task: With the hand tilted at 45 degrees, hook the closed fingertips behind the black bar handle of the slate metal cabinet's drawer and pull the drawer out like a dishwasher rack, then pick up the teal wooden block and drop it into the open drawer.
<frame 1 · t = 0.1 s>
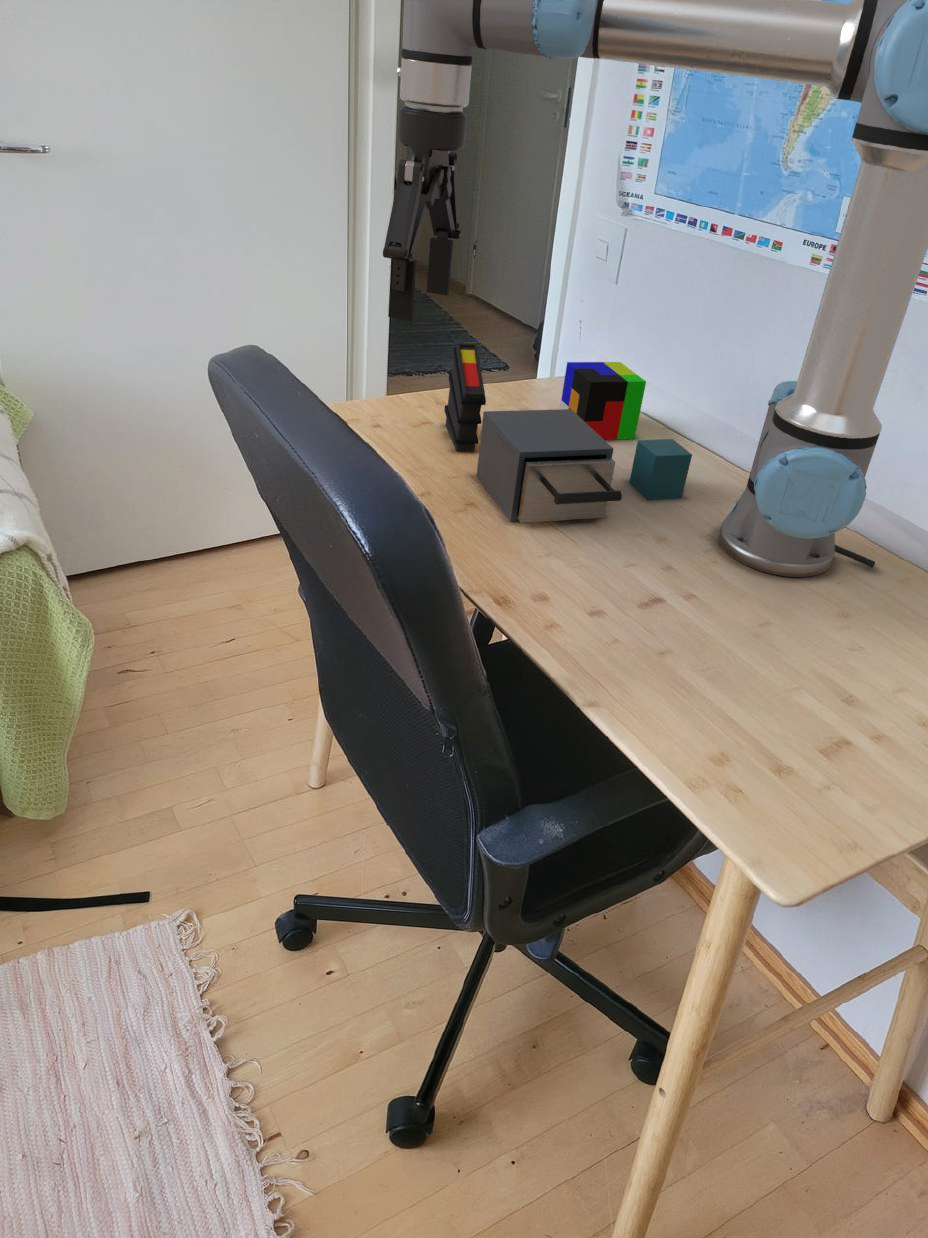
hand: (419, 305, 115), 28 cm above the table, tool pointing down, fingers open, 13 cm apart
drawer: (558, 481, 131), point 5 cm above the table, slide at 1.0 cm
block: (655, 490, 144), on the table
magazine: (460, 443, 153), on the table
puzzle toy: (595, 429, 164), on the table
cabinet: (536, 496, 139), on the table
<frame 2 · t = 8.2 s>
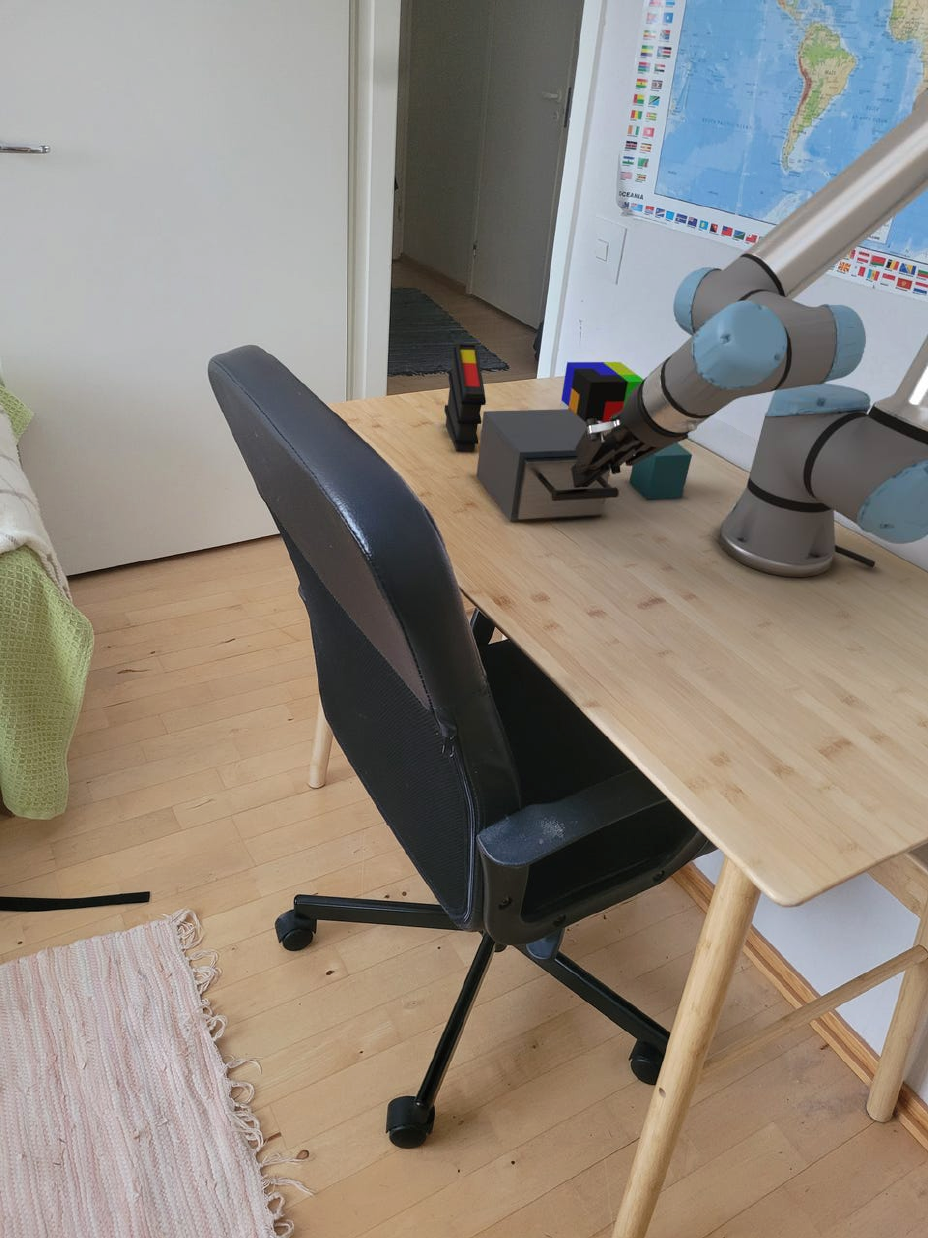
hand: (579, 477, 123), 9 cm above the table, tool tilted 45°, fingers closed
drawer: (555, 478, 132), point 5 cm above the table, slide at 0.0 cm, touching gripper
everything else where it was.
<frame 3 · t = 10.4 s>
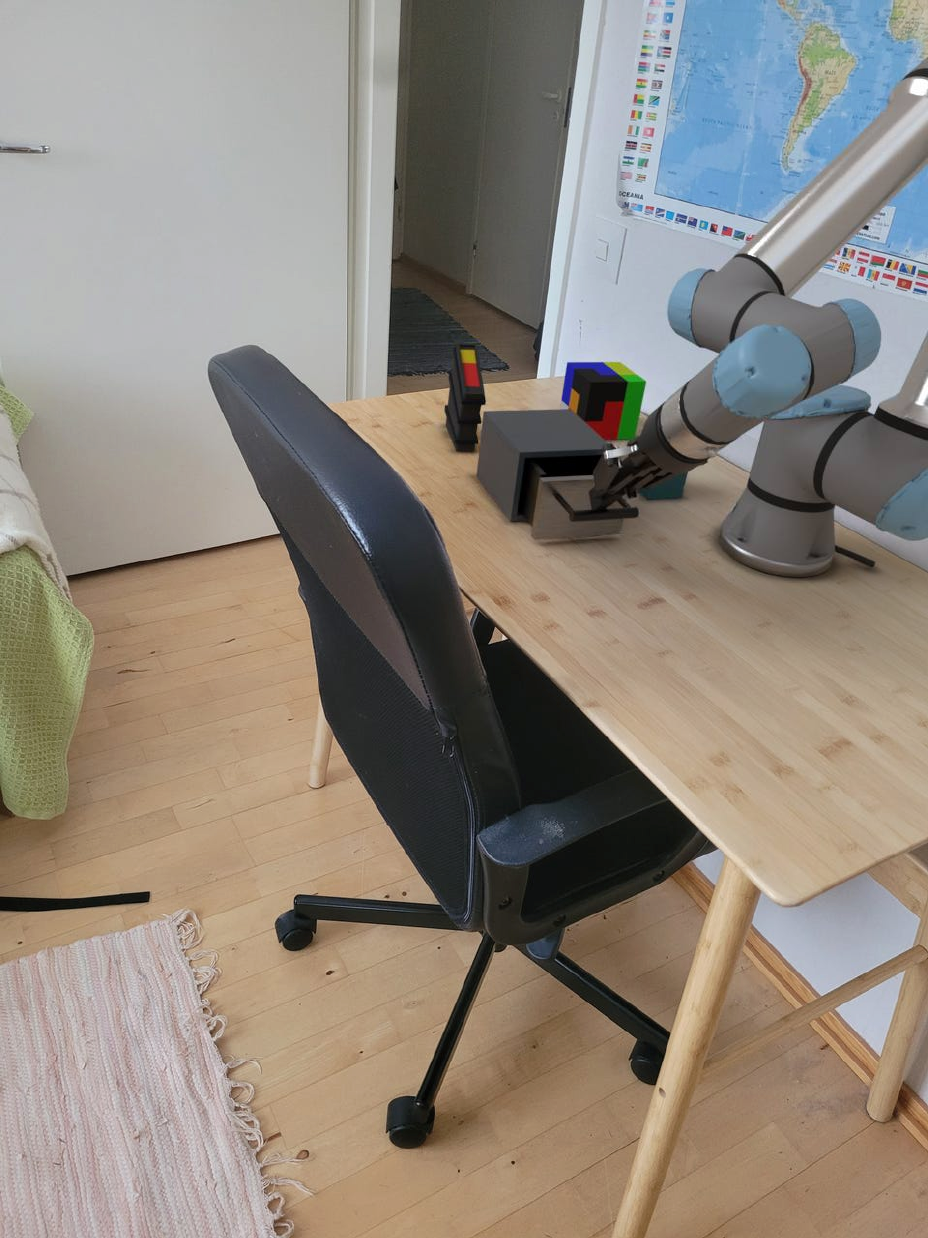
hand: (595, 501, 120), 8 cm above the table, tool tilted 45°, fingers closed
drawer: (572, 496, 127), point 5 cm above the table, slide at 5.9 cm, touching gripper
everything else where it was.
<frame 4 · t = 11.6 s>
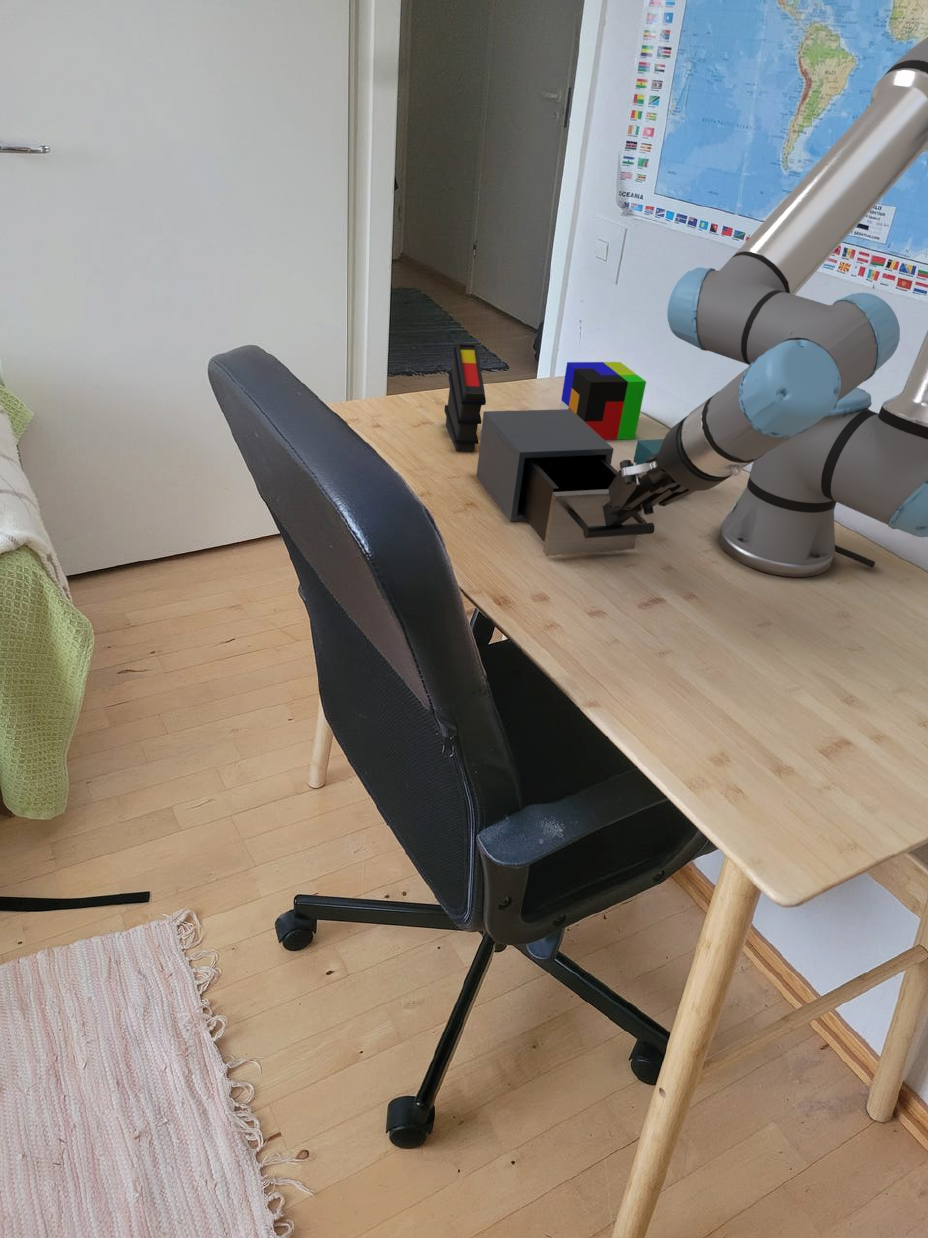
hand: (609, 516, 117), 8 cm above the table, tool tilted 45°, fingers closed
drawer: (585, 511, 124), point 5 cm above the table, slide at 10.2 cm, touching gripper
everything else where it was.
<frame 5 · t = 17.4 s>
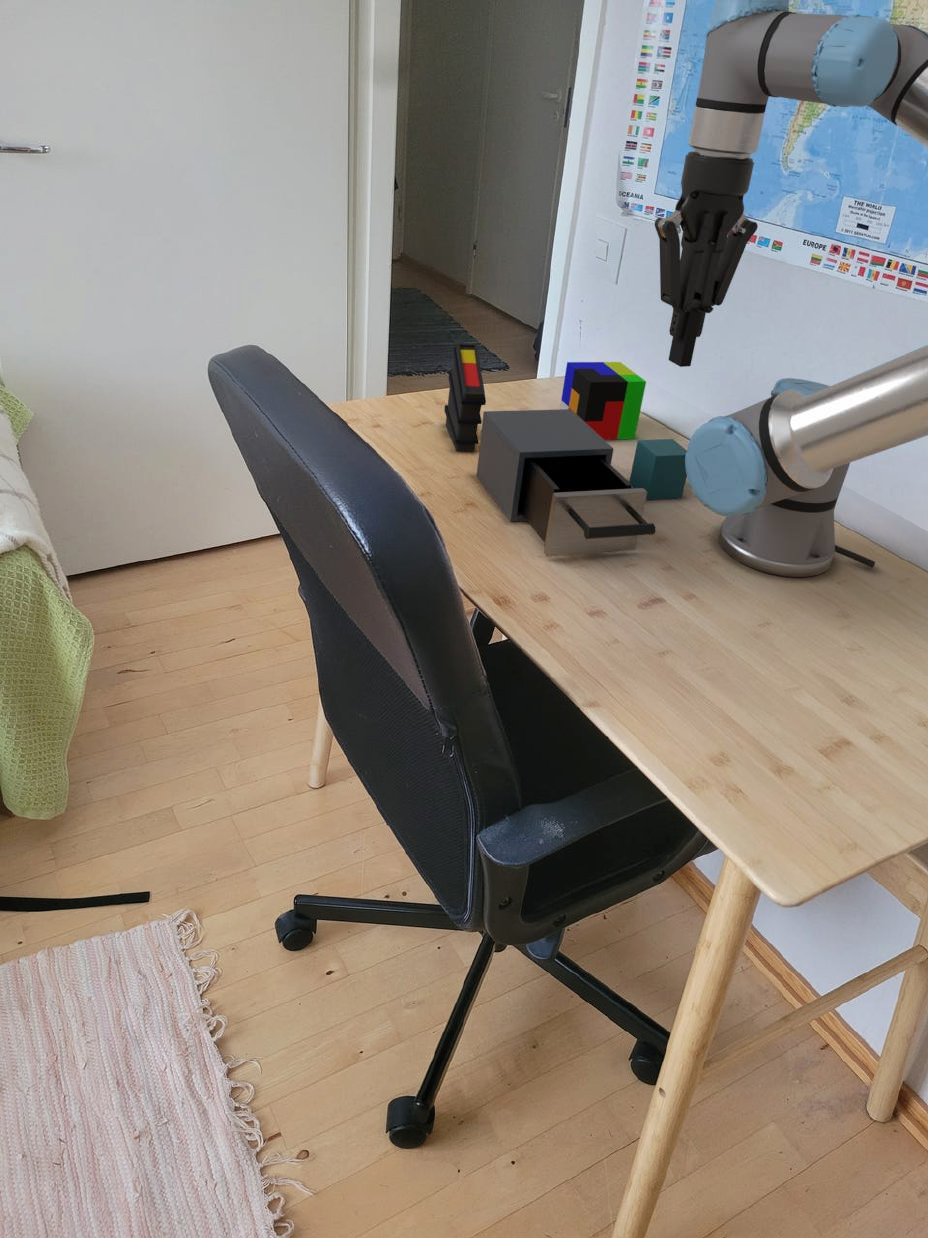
hand: (679, 362, 118), 24 cm above the table, tool pointing down, fingers closed
drawer: (585, 511, 124), point 5 cm above the table, slide at 10.4 cm
everything else where it was.
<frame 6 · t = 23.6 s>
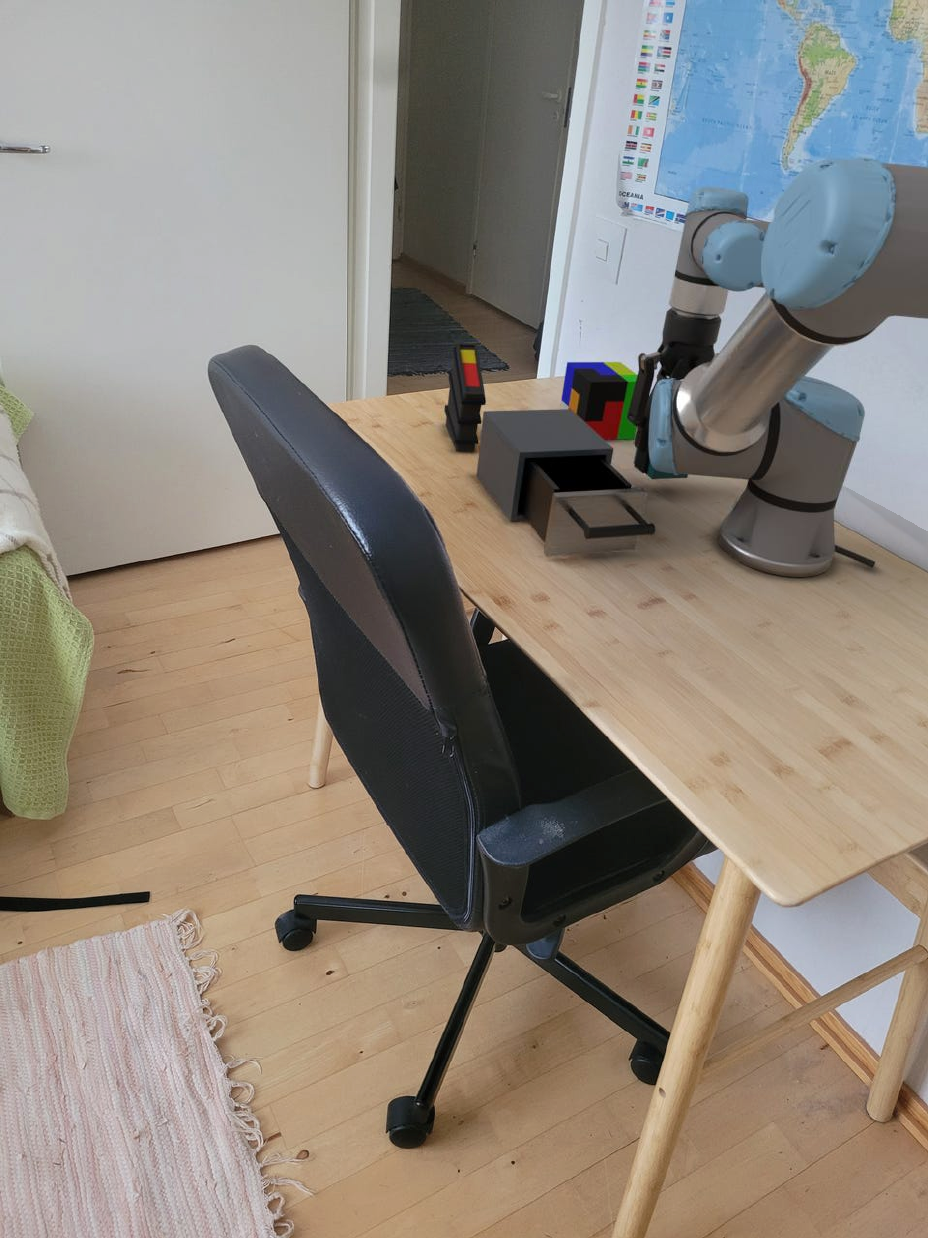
hand: (660, 468, 142), 4 cm above the table, tool pointing down, fingers closed on block, 6 cm apart
block: (660, 470, 142), point 3 cm above the table, touching gripper
everything else where it was.
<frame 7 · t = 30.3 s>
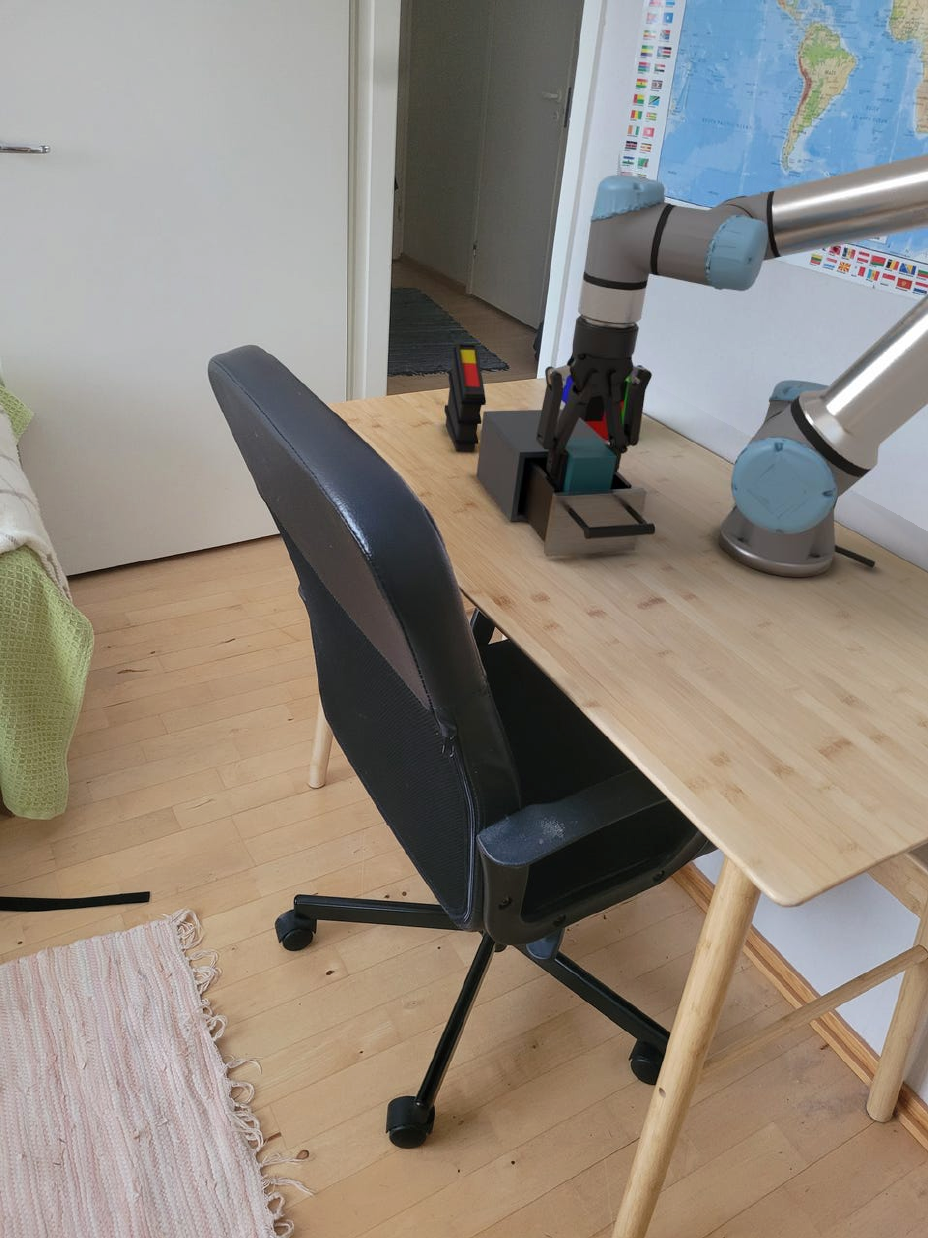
hand: (578, 495, 126), 6 cm above the table, tool pointing down, fingers closed on block, 6 cm apart
block: (577, 496, 126), point 6 cm above the table, touching gripper
everything else where it was.
when the fingers open (9 cm above the table, at t = 44.6 s): block drops 6 cm, resting on drawer.
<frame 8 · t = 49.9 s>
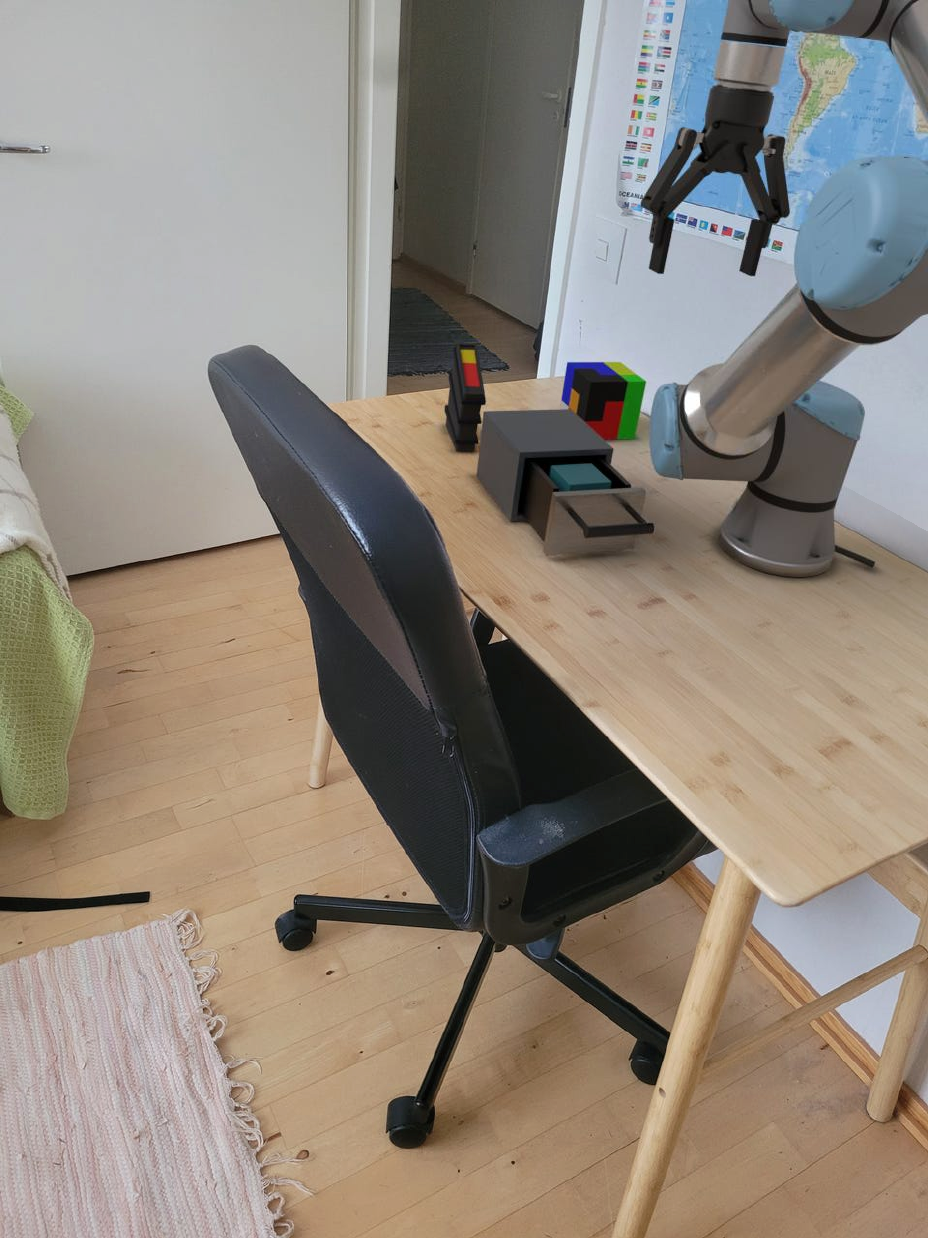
hand: (702, 272, 124), 33 cm above the table, tool pointing down, fingers open, 13 cm apart
drawer: (585, 511, 124), point 5 cm above the table, slide at 10.2 cm, touching block
block: (572, 521, 128), point 2 cm above the table, touching drawer
everything else where it was.
at the end: drawer slide at 10.2 cm; block 0.2 cm from the target spot in the drawer, point 2.1 cm above the cabinet's base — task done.
